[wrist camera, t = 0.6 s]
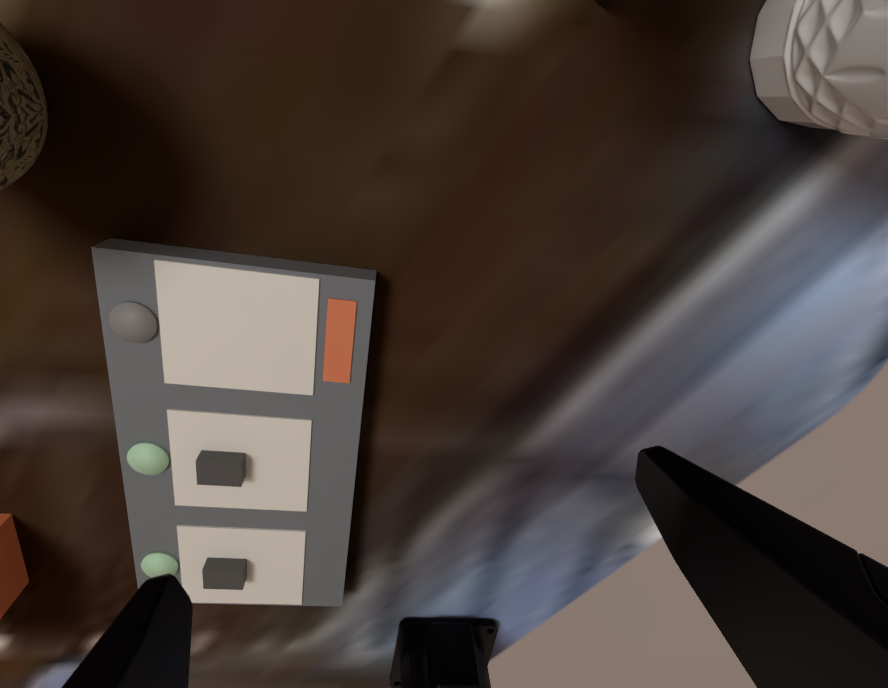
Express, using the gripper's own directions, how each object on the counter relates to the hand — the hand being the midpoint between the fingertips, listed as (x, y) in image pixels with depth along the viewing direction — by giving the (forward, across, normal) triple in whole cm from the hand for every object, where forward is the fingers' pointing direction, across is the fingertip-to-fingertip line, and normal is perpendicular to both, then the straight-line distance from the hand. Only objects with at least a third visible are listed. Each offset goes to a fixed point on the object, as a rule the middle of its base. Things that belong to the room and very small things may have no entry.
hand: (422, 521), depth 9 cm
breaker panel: (+15, +8, +9) cm, 19 cm away
